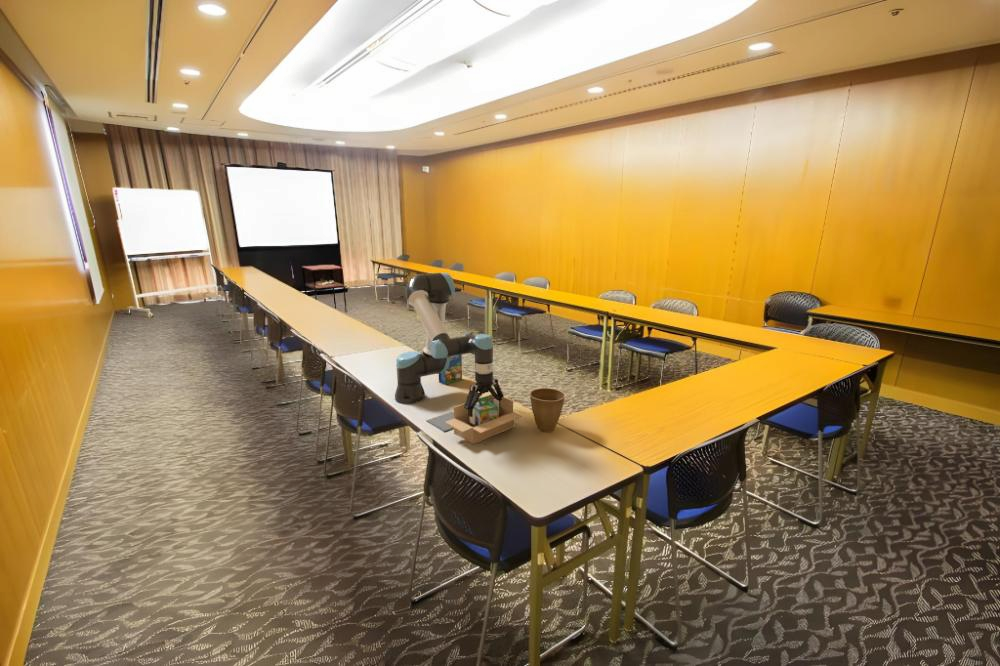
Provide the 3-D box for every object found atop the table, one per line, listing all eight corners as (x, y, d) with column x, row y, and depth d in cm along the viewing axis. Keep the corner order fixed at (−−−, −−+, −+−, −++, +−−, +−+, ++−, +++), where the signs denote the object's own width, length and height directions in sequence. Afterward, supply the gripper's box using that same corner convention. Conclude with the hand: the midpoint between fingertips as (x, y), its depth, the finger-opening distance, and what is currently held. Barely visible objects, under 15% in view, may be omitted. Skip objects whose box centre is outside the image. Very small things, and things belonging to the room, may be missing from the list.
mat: (426, 421, 197) (426, 420, 197) (451, 412, 206) (451, 411, 206) (444, 432, 187) (444, 430, 187) (470, 422, 196) (470, 421, 196)
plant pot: (560, 438, 181) (561, 402, 177) (525, 433, 185) (526, 398, 182) (566, 423, 195) (567, 389, 191) (533, 419, 199) (534, 386, 195)
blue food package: (462, 380, 249) (461, 337, 243) (445, 385, 241) (444, 341, 235) (455, 377, 254) (454, 335, 248) (438, 382, 245) (437, 339, 239)
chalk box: (480, 437, 183) (480, 404, 179) (470, 428, 190) (469, 396, 186) (499, 431, 187) (499, 399, 184) (488, 423, 195) (488, 392, 191)
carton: (444, 436, 183) (443, 410, 180) (494, 417, 201) (494, 393, 198) (471, 452, 170) (470, 424, 167) (522, 430, 188) (522, 404, 185)
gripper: (466, 380, 171) (467, 430, 176) (511, 367, 188) (511, 412, 193) (454, 376, 177) (456, 424, 182) (500, 363, 193) (500, 407, 198)
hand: (484, 418), depth 187 cm, fingers open, 13 cm apart
